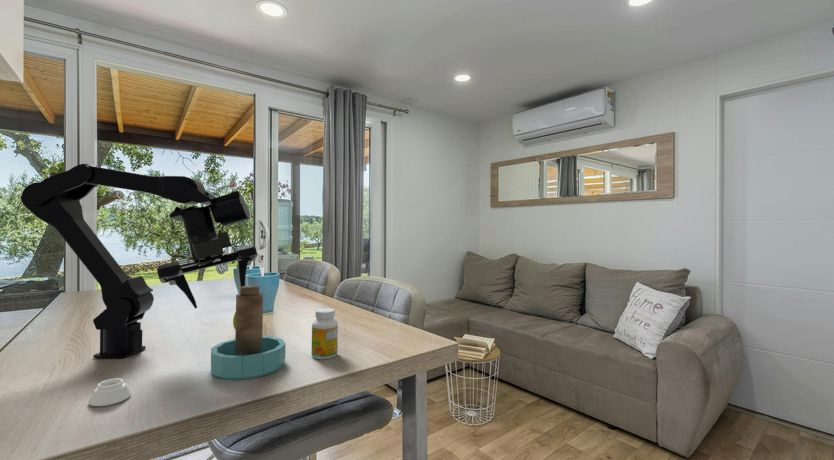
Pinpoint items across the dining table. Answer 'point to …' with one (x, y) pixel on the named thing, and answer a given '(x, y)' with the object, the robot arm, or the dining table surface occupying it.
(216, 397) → the dining table surface
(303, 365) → the dining table surface
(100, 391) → the lidless jar
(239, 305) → the pepper mill
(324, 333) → the supplement bottle
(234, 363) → the bowl
